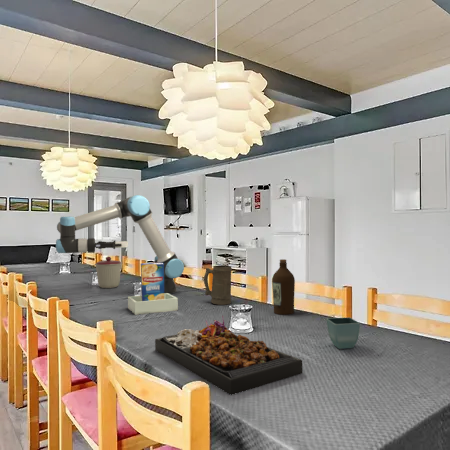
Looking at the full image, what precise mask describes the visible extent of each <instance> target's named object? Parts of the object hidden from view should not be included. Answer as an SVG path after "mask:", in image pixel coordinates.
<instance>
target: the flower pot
mask: <svg viewBox="0 0 450 450" xmlns="http://www.w3.org/2000/svg"><path fill="white" fill-rule="evenodd" d="M360 324H361V323H360V322H359V321H357V320H356V319H354V318H352V317H331V318H328V317H327V318H326V328H327V333H328V336H329V339H330V341H331V343H332V344H333V346H335V347H336V348H337V349H338V350H343V349H354V348H355V346H356V344H357V342H358V340H359V337H360V336H359V334H360V327H361V325H360Z"/></svg>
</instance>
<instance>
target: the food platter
mask: <svg viewBox="0 0 450 450" xmlns="http://www.w3.org/2000/svg"><path fill="white" fill-rule="evenodd" d="M221 317H222V322H221V321H219V320H213V323H212V322H211V323H210V324H209V323H208V320H205V325H206V327H204V328H202V329H197V330H193V329H191V328H190V329H186V328H185V329H182V330H179V331H178V332H177V333H176V334H172V335H167V336H166V335H165V336H162V337H160V338H159V337H158V338H155V340H154V344H155V345H154V348H155V351H156V352H157V351H158V353H159V354H161V355H162V356H164V357H165V358H168V359H169V360H171V361H173V362H174V363H176V364H178V365H179V366H181V367H182V368H184V369H186V370H188V371H190V372H191V373H193V374H194V375H195V376H198V377H199V378H201V379H202V380H205V381H207V383H209V384H211V385H213V386H214V385H215V386H214V387H216V386H217V388H218V389H219V388H220V390H221V389H222V391H223V390H224V391H223V392H224V393H226V392H227V393H226V394H228V393H229V394H228V395H230V394H231V395H230V396H233V395H232V394H234V395H236V394H235V393H237V394H239V392H240V393H242V391H243V392H246V390H247V391H249V390H253V389H256V388H259V387H263V386H266V385H269V384H273V383H275V382H279V381H282V380H286V379H289V378H292V377H296V376H298V375H301V374H303V360H302V359H301V358H298V357H295V356H292V355H290V354H287V353H284V352H281V351H279V350H277V349H274V348H271V347H269V346H267V344H266V343H265V342H264V340H250V339H249V338H248V337H247V336H244V335H241V334H238V335H237V334H236V333H234V332H233V331H232V330H230V329H229V330H228V328H227V327H226V326H225V325H226V324H225V320H224V315H222V316H221Z"/></svg>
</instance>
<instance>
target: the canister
mask: <svg viewBox="0 0 450 450" xmlns="http://www.w3.org/2000/svg"><path fill="white" fill-rule="evenodd" d="M122 264H123V262H121V261H120V260H112V257H111V256H107V257H105V260H100V261H97V262H96V263H94V265H95V271H96V276H97V277H96V278H97V283H98V287H99V288H101V289H114V288H117V287H119V285H120V279H121V271H122Z"/></svg>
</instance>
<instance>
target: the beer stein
mask: <svg viewBox="0 0 450 450" xmlns="http://www.w3.org/2000/svg"><path fill="white" fill-rule="evenodd" d="M232 271H233V268H232V266H230V265H226V264H225V265H220V264H219V265H214V266H213V269H211V268H210V267H208V268H207V267H206V268H205V273H204V275H203V284H204V287H205V292H204V295H205V296H211V300H210V303H212V304H214V305H219V306H221V305H223V306H225V305H226V306H227V305H230V304H231V303H232V295H231V294H232ZM210 274H212V281H211V283H212V284H211V290H210V286H209V281H208V279H209V278H208V277H209V275H210Z"/></svg>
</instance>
